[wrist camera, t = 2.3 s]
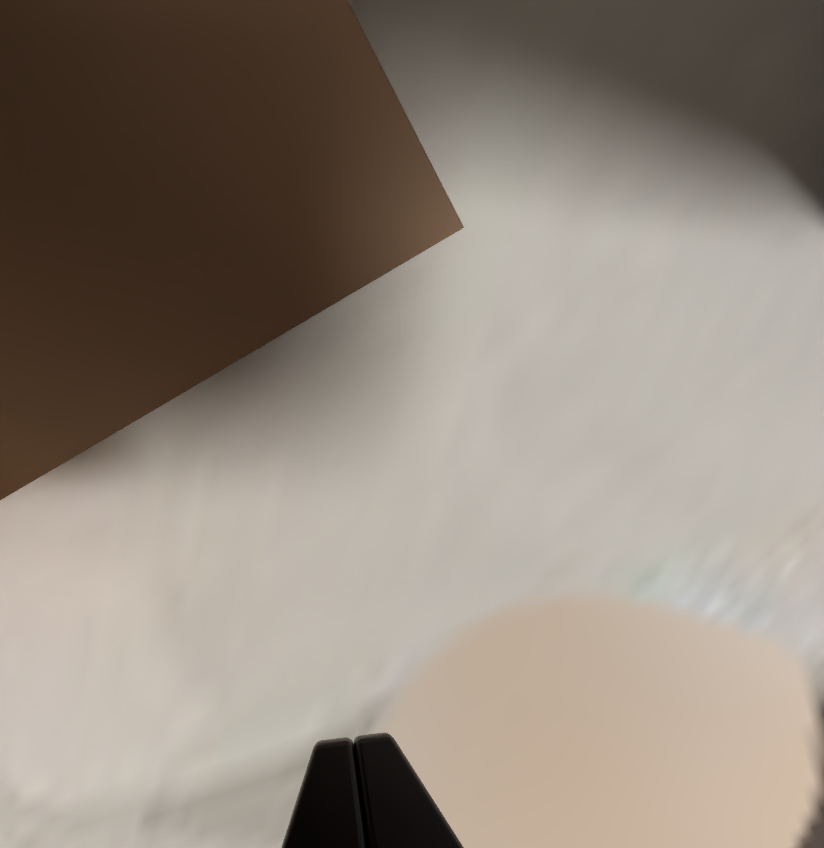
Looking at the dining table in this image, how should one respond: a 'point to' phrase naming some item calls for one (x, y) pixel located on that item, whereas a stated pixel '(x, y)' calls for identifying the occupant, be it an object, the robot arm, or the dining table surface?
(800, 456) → the dining table surface
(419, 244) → the base plate
